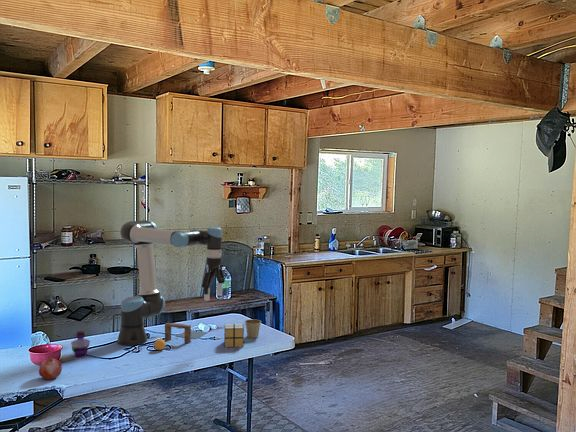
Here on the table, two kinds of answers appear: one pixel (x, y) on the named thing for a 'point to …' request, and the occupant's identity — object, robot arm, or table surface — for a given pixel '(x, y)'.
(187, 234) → the robot arm
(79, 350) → the potion bottle
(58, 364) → the fruit
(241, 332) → the puzzle cube
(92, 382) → the table surface
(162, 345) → the ball
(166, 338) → the bridge
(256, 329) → the flower pot
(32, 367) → the table surface
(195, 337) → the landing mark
